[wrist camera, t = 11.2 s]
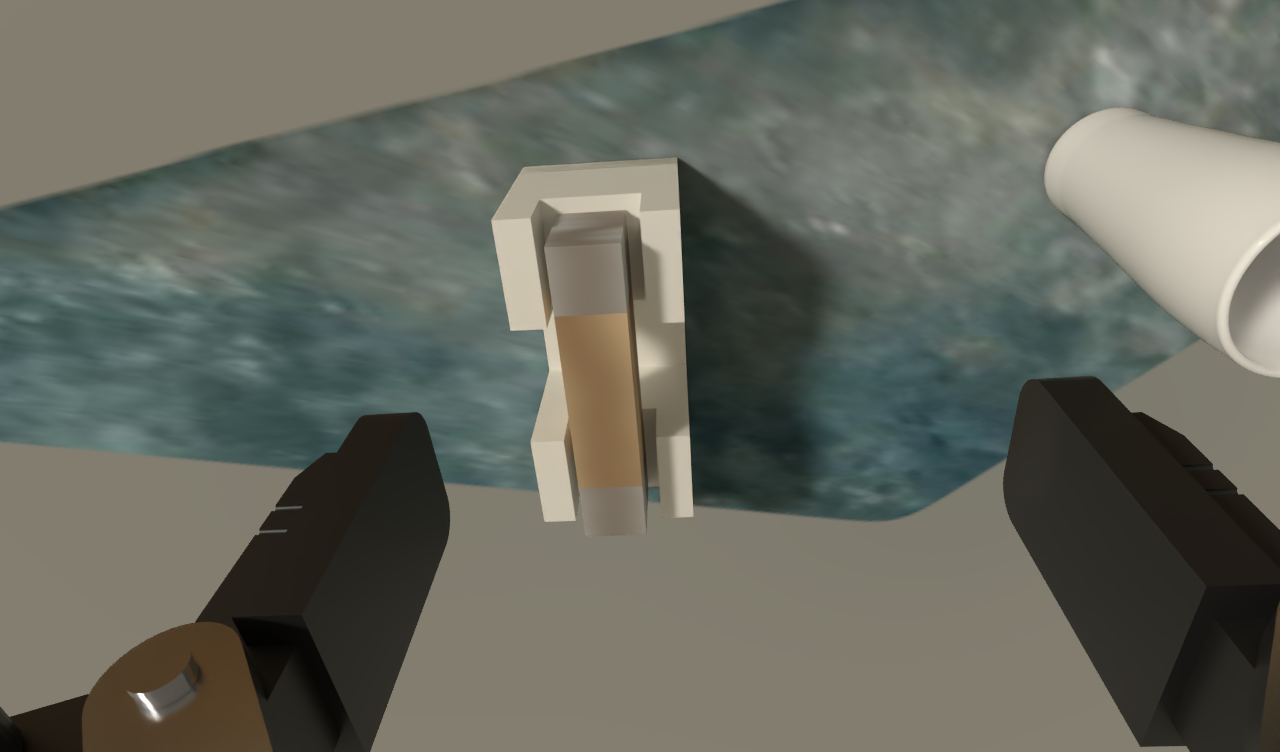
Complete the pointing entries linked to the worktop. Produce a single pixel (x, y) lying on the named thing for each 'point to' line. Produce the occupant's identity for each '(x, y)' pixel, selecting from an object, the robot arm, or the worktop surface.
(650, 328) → the white notched block
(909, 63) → the worktop surface
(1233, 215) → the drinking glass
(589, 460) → the rail
